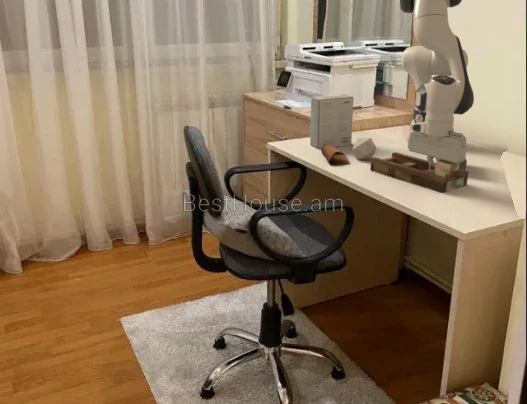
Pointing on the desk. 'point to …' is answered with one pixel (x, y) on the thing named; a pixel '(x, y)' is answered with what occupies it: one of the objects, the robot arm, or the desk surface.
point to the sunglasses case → (334, 155)
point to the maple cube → (446, 167)
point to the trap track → (418, 172)
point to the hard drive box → (331, 120)
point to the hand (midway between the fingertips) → (433, 170)
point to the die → (364, 148)
